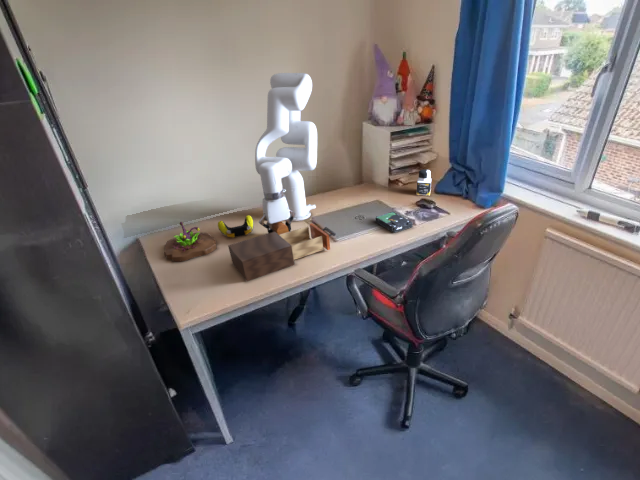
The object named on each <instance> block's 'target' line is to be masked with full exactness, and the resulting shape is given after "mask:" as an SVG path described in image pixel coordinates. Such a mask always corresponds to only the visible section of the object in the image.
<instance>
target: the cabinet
mask: <svg viewBox="0 0 640 480" xmlns="http://www.w3.org/2000/svg"><path fill="white" fill-rule="evenodd" d="M227 247H228V252H229V255H230V259H231V262H232V265H233V267H234V268H235V269H236V271H238V272H239V274H240V275H241V276H242V278H243V279H244V280H245V281H246V282H249V281H252V280H255V279H258V278H261V277H265V276H267V275H270V274H273V273H276V272H279V271H281V270H284V269H287V268H290V267H292V266H295V260H294V258H293V252H292V246H291V245H290V244H289V243H288V242H287V241H286V240H284V239H283V238H282V237H281V236H280V235H278V234H277V233H276V232H272V233H268V232H267V233H265V234H262V235H258V236H255V237H252V238H247V239H244V240H241V241H238V242H235V243H230V244H228V245H227Z"/></svg>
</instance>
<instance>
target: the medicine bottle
mask: <svg viewBox="0 0 640 480" xmlns="http://www.w3.org/2000/svg"><path fill="white" fill-rule="evenodd" d="M431 173H432V172H431V170H430V169H425V168H424V169H420V170H419V171H418V177H417V180H416V193H415V194H416V195H417V196H431V190H432V188H431V187H432V178H431Z"/></svg>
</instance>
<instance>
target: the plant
mask: <svg viewBox="0 0 640 480" xmlns="http://www.w3.org/2000/svg"><path fill="white" fill-rule="evenodd" d="M179 225H180V226H181V229H182V232H179V235H178V234H177V235H173V238H171V239H167V240H166V242H165V244H164V249H165V250H164V251H163V255H164V257H166V259H167V260H169V261H170V260H171V261H173V262H175V263H181V262H182V263H183V262H186V261H189V260H191V259H194V258H198V257H201V256H207V255H208V254H211V253H212V252H214V251H215V250H218V249H217V246H216V245H217V240H216V239H215V238H214V237H213V236H212V235H211V234H209V233H208V232H199V231H200V230H201V228H200V227H198V226H194V227H191V228H190V229H189V230H186V228H185V225H184V221H180V222H179ZM193 230H196V231H197V232H194V231H193Z"/></svg>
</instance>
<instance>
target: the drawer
mask: <svg viewBox="0 0 640 480" xmlns="http://www.w3.org/2000/svg"><path fill="white" fill-rule="evenodd" d="M328 233H329V234H328ZM280 236H281V237H282V238H283V239H284V240H286V241H287V242H288V243H289V244H290V245H291V246H292V252H293V258H294V261H296V260H297V259H301V258H303V257H306V256H310V255H313V254H316V253H318V252H322V251H324V249H325V250H327V251H330V250H331V243H330V242H331V241H330V237H331V236H332V237H335V236H336V232H334V231H333V230H332V229H330V228H329V227H327V226H325V227H324V228H320V227H318V226H317V225H315V224H314V223H309V226H308V225H307V226H303V227H300V228H297V229H293V230H291V231H290V232H287V233H284V234H280Z"/></svg>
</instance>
